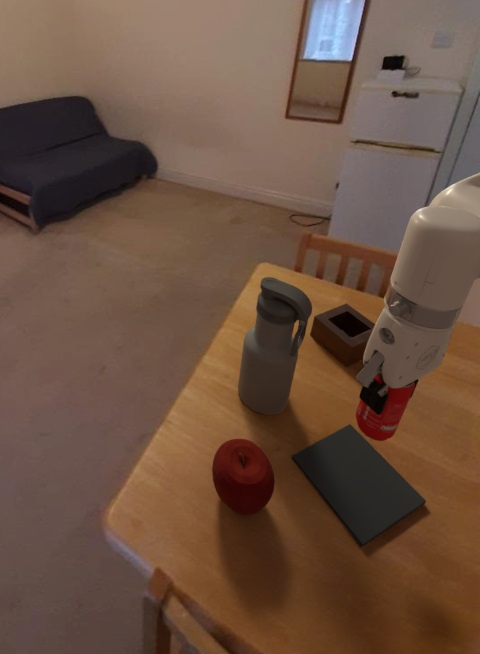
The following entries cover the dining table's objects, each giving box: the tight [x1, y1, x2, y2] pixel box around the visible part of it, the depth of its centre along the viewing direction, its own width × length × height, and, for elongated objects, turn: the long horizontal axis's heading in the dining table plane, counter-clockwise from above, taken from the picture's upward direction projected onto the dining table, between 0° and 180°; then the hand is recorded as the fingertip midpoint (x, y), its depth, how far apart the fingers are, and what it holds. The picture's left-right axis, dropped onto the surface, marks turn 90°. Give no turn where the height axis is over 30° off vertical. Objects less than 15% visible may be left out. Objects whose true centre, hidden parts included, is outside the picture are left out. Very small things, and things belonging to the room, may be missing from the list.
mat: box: [291, 423, 427, 549], centre depth 68 cm, size 14×14×1 cm
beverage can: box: [355, 374, 415, 442], centre depth 59 cm, size 5×5×12 cm
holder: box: [309, 302, 376, 368], centre depth 92 cm, size 10×10×6 cm
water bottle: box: [237, 276, 313, 416], centre depth 76 cm, size 10×10×28 cm
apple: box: [211, 438, 276, 516], centre depth 64 cm, size 10×10×10 cm
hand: (385, 397), depth 58 cm, fingers closed on beverage can, 5 cm apart
